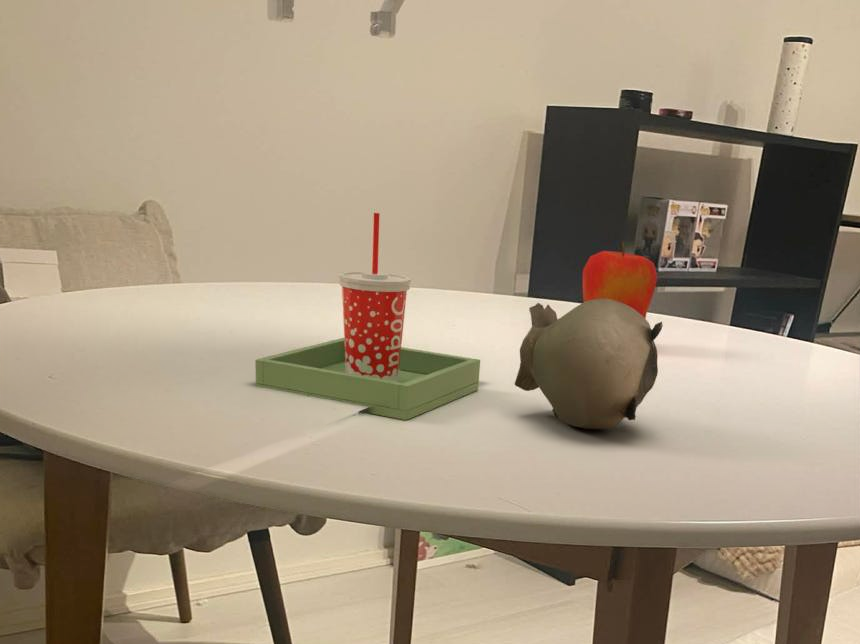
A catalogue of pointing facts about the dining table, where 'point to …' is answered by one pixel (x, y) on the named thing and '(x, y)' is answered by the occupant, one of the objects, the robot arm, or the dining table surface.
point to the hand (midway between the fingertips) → (333, 29)
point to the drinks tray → (371, 379)
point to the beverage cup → (373, 318)
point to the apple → (620, 279)
